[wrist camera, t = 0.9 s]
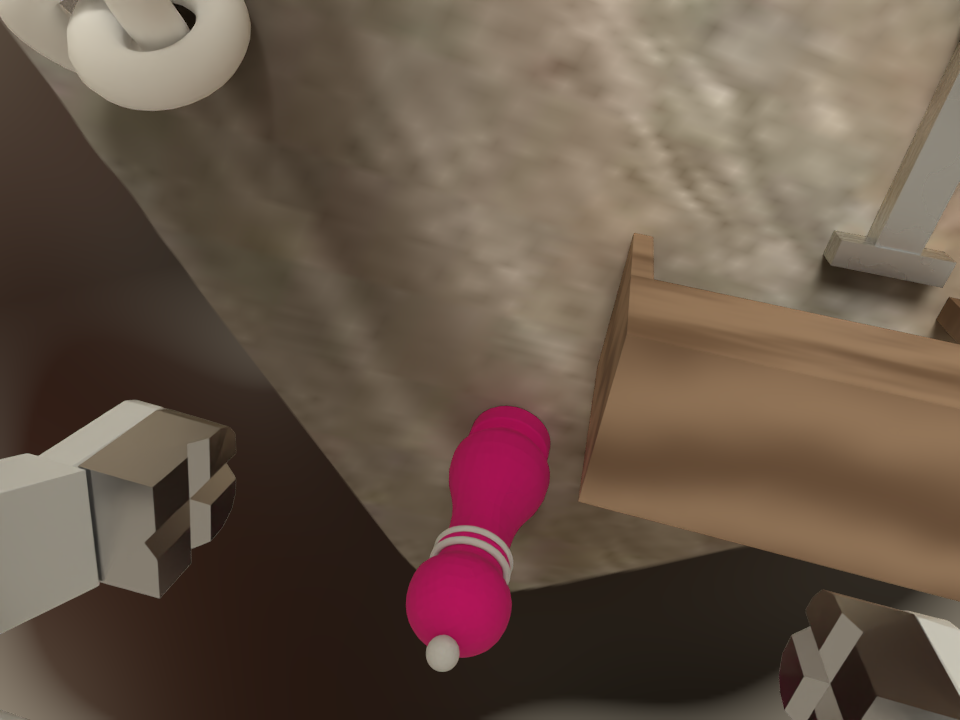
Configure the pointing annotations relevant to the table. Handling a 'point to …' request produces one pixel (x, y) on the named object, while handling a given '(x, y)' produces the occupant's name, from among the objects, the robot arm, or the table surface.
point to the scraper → (913, 199)
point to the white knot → (138, 46)
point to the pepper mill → (479, 536)
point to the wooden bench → (780, 429)
